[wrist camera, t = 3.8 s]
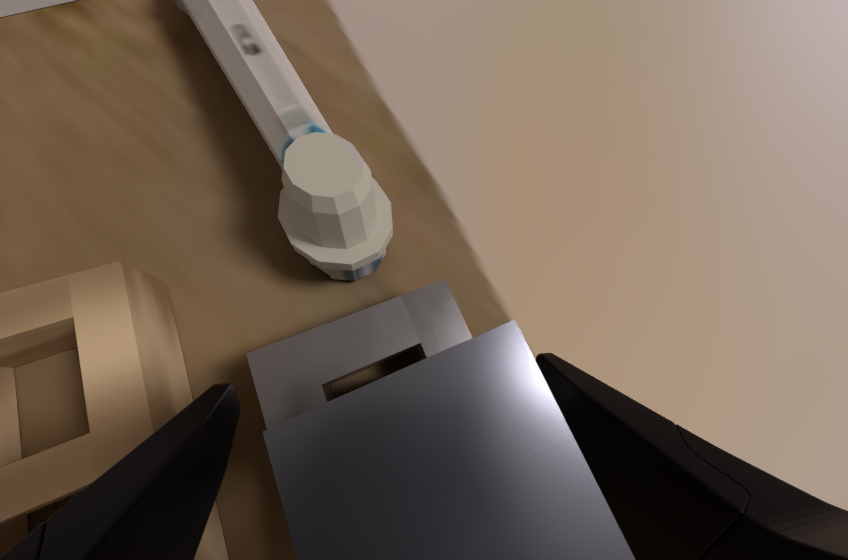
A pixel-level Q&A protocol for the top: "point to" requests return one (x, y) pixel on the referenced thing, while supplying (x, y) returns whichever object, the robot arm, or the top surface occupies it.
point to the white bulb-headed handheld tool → (299, 145)
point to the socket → (352, 349)
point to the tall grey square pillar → (443, 466)
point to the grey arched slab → (25, 5)
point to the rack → (91, 384)
